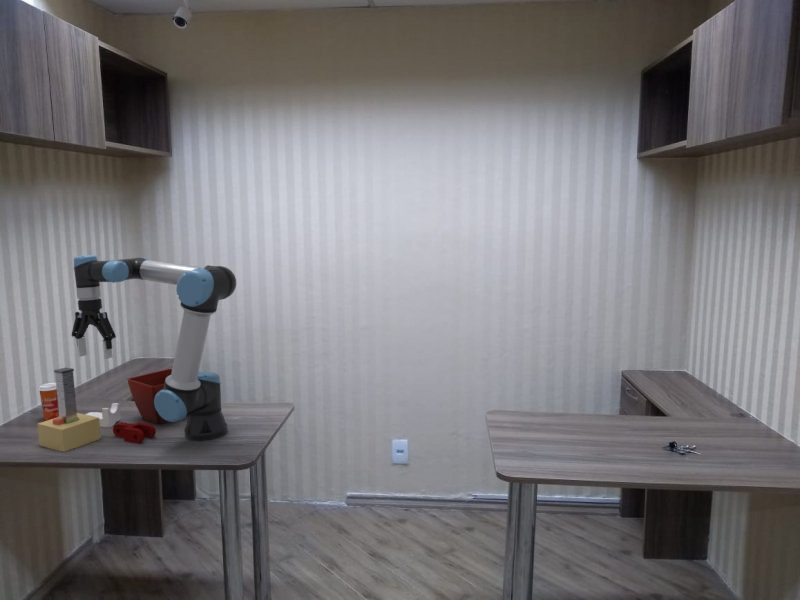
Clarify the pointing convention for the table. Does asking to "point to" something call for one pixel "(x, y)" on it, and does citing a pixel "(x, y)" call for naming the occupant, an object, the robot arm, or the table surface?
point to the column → (66, 395)
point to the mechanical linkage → (134, 431)
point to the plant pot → (148, 393)
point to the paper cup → (49, 401)
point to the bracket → (107, 415)
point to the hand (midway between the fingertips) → (95, 357)
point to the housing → (69, 432)
